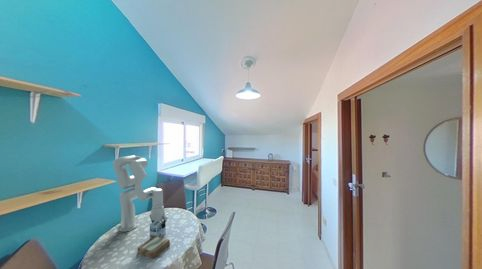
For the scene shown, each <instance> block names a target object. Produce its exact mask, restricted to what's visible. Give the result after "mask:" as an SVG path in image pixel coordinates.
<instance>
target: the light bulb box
mask: <svg viewBox="0 0 482 269" xmlns="http://www.w3.org/2000/svg"><path fill="white" fill-rule="evenodd" d="M163 221H164V220H163ZM166 226H167V221H166V222H165V227H164V228H163V229H162V222H161V221H160V222H159V221H154V222H153V223H152V222H151V223H149V239H150V238H152V237H153V236H159V237H162V236H164V234H165V233H166V230H167V228H166Z"/></svg>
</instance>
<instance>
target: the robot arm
mask: <svg viewBox="0 0 482 269" xmlns="http://www.w3.org/2000/svg"><path fill="white" fill-rule="evenodd" d="M148 165H149V163H148V161H147V159H146V158H144V157H141V156H139V155H134V154H133V155H132V154H131V155H126V156H120V157H116V158H115V159H114V160H113V163H112V167H113V170H114V172H115V174H116V178H117V182H118V183H117V184H118V187H119V189H120V190H123V192H121V193H120V194H119V198H118V199H119V202H120V208H121V210H120V218H121V220H120V222H119V223H118V224H119V225H120V226H119V229H118V230H119V232H121V233H124V232H125V233H126V232H129V231H133V230H135V229H136V228H137V226H138V222H136V207H135V206H136V205H135V203H134V202H133V201H134V200H136V199H139V201H142V202H144V201H147V200H150V199H152V200H151V203H152V207H151V210H150V214H149V219H150V222H151V223H153V222H154V221H159V222H160V221H161V222H162V229H163V228H164V227H165V222H166V223H167V221H168V217H167V215H166V211H165V207H164V192H163V191H164V190H163V189H162V188H157V187H155V186H152V187H149V188H146V189H143V186H142V183H143V180H145V179H146V178H147V176H148V174H147V173H146V171H145V168H147V167H148ZM126 167H128V168H126ZM128 169H129V170H128ZM129 171H130V172H131V173H132V175H130V172H129ZM163 220H164V221H163Z"/></svg>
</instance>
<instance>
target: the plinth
mask: <svg viewBox="0 0 482 269" xmlns="http://www.w3.org/2000/svg"><path fill="white" fill-rule="evenodd" d="M170 242H171V241H170V239H168V238H165V237H162V236H161V237H159V236H153V237H152V238H150V237H149V239H148V240H146V241H145V242H144V243H143V244H141V245H139V246H138V247H137V254H138V255H140V256H143V257H147V258H148V259H151V260H155V258H158V256H159V255H161V254H162V253H163V252H164V251H165V250H166V249H167V248H168V247H170V246H171V244H170Z"/></svg>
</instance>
